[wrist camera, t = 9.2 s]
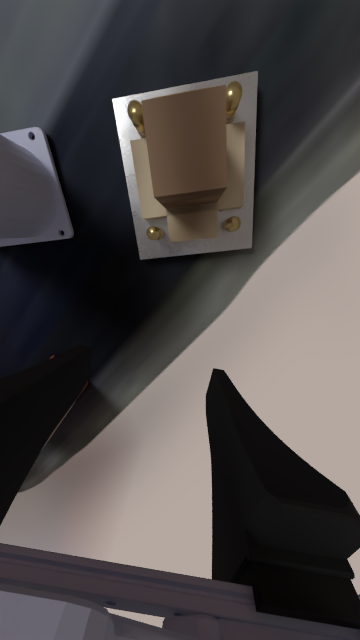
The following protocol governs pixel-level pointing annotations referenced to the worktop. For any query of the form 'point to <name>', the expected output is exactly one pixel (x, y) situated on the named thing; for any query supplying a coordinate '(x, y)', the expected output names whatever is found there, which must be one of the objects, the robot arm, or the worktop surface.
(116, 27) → the worktop surface
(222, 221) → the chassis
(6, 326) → the worktop surface
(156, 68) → the worktop surface
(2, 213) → the robot arm
